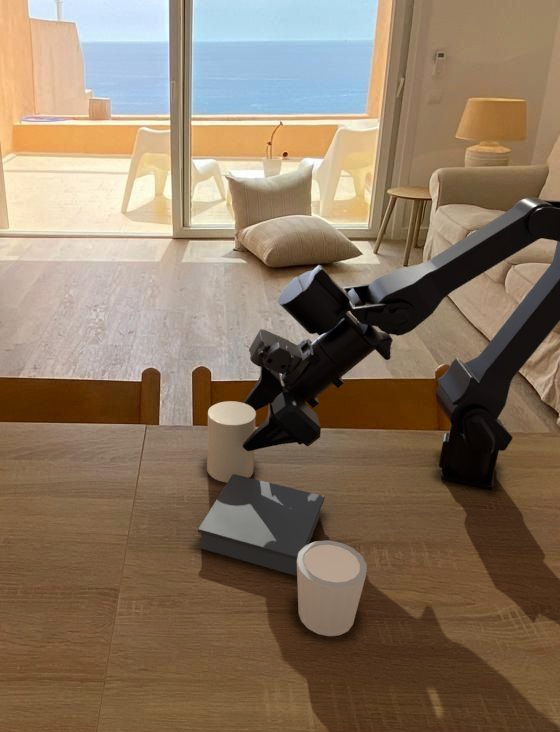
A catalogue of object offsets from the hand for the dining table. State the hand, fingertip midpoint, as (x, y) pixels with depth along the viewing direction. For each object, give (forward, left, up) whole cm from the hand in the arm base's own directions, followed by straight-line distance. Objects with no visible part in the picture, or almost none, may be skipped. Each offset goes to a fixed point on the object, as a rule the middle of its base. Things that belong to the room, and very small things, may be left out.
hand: (242, 429), depth 93 cm
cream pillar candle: (+1, +1, -6) cm, 7 cm away
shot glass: (-17, +22, -7) cm, 28 cm away
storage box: (-7, +12, -6) cm, 15 cm away
